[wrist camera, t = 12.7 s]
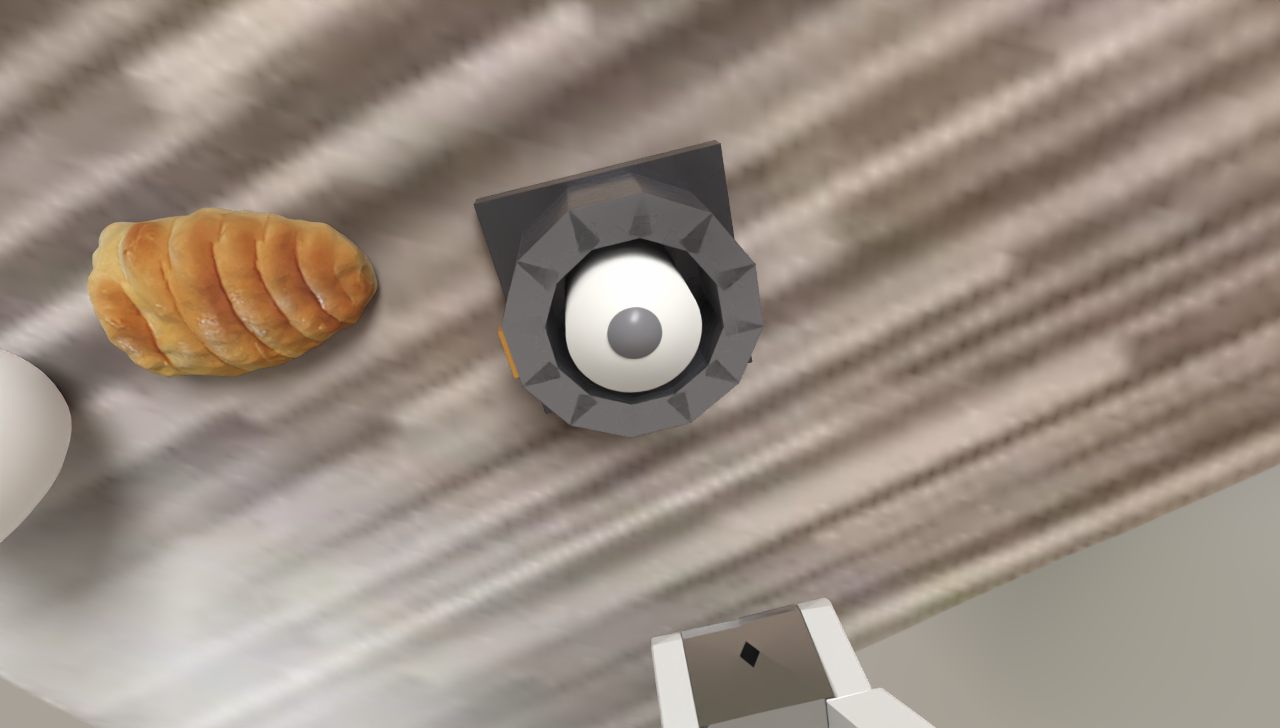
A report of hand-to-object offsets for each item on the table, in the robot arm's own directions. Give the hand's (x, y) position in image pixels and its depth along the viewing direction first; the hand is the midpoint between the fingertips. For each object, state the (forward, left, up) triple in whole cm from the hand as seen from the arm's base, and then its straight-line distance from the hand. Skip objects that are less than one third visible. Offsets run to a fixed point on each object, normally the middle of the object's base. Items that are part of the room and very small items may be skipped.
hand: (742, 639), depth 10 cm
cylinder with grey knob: (0, 0, -18) cm, 18 cm away
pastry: (+15, -4, -19) cm, 25 cm away
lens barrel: (0, 0, -19) cm, 19 cm away
